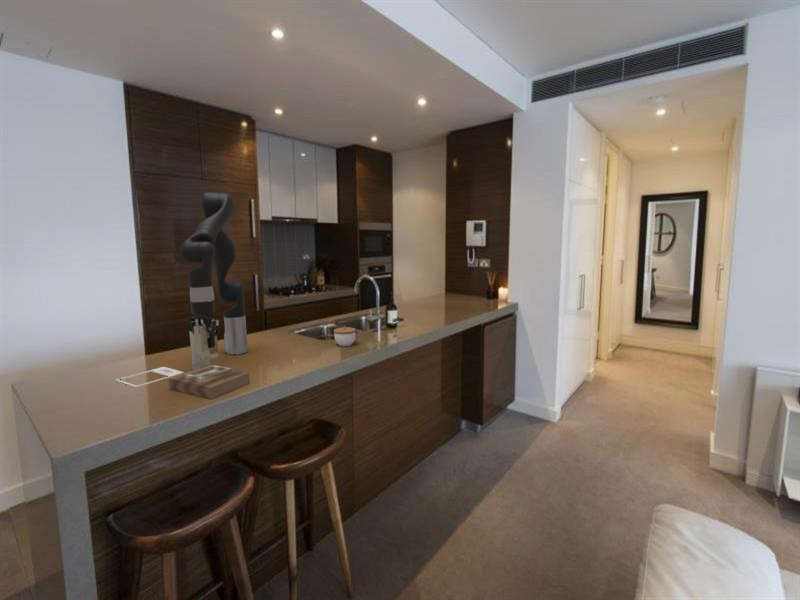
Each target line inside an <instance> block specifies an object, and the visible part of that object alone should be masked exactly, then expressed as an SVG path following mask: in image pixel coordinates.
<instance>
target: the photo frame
mask: <svg viewBox="0 0 800 600" xmlns="http://www.w3.org/2000/svg"><path fill="white" fill-rule="evenodd" d="M148 373H154V374H157V373H158V374H157V375H161V376H164V375H165V376H164V377H162V378H158V379H155V380H151V381H147V382H145V383H142V384H141V383H140V384H138V385H135V384H133V383H129V382H127V381H125V380H126V378H127V379H129V378H130V377H131V378H133V377H138V376H140V375H145V374H148ZM183 373H185V372H184V371H181V370H178V369H174V368H171V367H167V366H161V367H157V368H154V369H151V370H150V369H149V370H146V371H143V372H140V373H135V374H132V375H129V376H123V377H121V378H116V379H115V382H117V381H118V382H117V383H120V382H121V383H120V384H123V383H124V384H123V385H125V384H127V385H126V386H128V385H129V386H128V387H131V386H132V388H134V387H135V389H136V388H139V387H143V385H144V386H146V384H147V385H150V383H151V384H153V382H154V383H157V382H160V380H161V381H163V379H164V380H167V379H168V378H170V377H173V376H176V375H179V374H183ZM167 376H168V377H167ZM166 378H167V379H166ZM120 379H121V380H120ZM122 379H123V380H122Z"/></svg>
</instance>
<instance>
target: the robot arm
mask: <svg viewBox="0 0 800 600" xmlns="http://www.w3.org/2000/svg"><path fill="white" fill-rule="evenodd" d="M201 206H202V211H203V216H204V218H205V219H204V220H202V221H201V222H200V223H199V224H198V226H197V228H196V229H195V232H194V233H193V234H191V236H190V237H188V238H187V239H186V240H185V241H184V242H183V243H182V245H181V248H180V251H179V252H180V256H181V258H182V260H183V261H185V262H187V263H202V264H201V267H199V268H196V269H191V270H190V271H189V272H188V279H189V281H188V282H189V298H190V299H189V300H190V312H191V314H192V315H194V316H193V317H188V321H189V324H190V326H191V329H192V333H193V334H194V326H199V325H201V326H204V327H205V332H206V334H207V337H208V338H207V341H208V348H213V347H215V339H214V337H215V336H217V337H218V336H219V335H220V329H221V319H216V318H215V317H214V313H215V312H216V304H215V293H214V287H213V278H212V274H213V267H214V269H215V276H216V285H217V293H218V298H219V300H220V302H222V303H234V302H235V303H236V304H235V305H234V306H233V307H231V308H228V309H225V310H224V311H223V322H224V332H223V339H224V351H225V353H226V352H227V353H226V354H227V355H230V354H231V355H234V354H236V355H243V354H246V353H247V352H248V351H249V348H248V334H247V321H246V320H247V319H246V307H245V286H244V284H243V282H242V281H226V277H227V275H228V273H229V271H230V269H231V268H232V267H233V265H234V263H235V261H236V259H237V253H236V248H235V243H234V241H233V239H232V238H231V236H230V235H228V233H227V232H226V231H225V230H224V229H223V227H224V226H225V224H226V223H227V222H228V220H229V219H230V218H231V217H232V216H233V212H234V207H235V203H234V199H233V196H232V195H230V194H229V193H224V192H223V193H222V192H220V193H219V192H204V193H203V194H202V197H201ZM211 326H212V327H211ZM209 327H211V328H210V329H208V328H209ZM215 330H216V332H215ZM209 331H211V334H210V332H209ZM242 353H243V354H242Z"/></svg>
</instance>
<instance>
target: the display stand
mask: <svg viewBox="0 0 800 600" xmlns="http://www.w3.org/2000/svg"><path fill="white" fill-rule="evenodd" d="M167 379H168V387H169V390H172V391H176V392H179V393H180V392H182V393H184V394H185V393H186V394H189V395H193V396H198V397H201V398H206V399H209V400H212V399H215V398H218V397H221V396H222V395H225V394H228V393H230V392H233V391H235V390H238V389H240V388H242V387H244V386H246V385H249V384H250V373H249V372H245V371H239V370H234V369H233V368H232V367H225V366H220V365H216V364H213V365H210V366H209V365H207V366H204V367H201V368H198V369H195V370H193V369H192V370H189V371H186V372H184V373H183V374H179V375H176V376H173V377H170V378H167ZM232 390H233V391H232ZM227 392H228V393H227Z"/></svg>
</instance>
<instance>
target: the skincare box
mask: <svg viewBox="0 0 800 600" xmlns="http://www.w3.org/2000/svg"><path fill="white" fill-rule="evenodd" d="M211 327H212V326H211ZM211 327H209V328H208V329H210V328H211ZM209 332H210V334H211V331H209ZM215 332H216V330H215ZM194 338H195V352H196V360H201V361H205V360H212V359H216V358H219V348H218V335H217V336H215V337H214V339H215V347H213V348H208V341H207V338H208V337H207V334H206V332H205V327H204V326H201V325H199V326H194Z"/></svg>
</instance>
